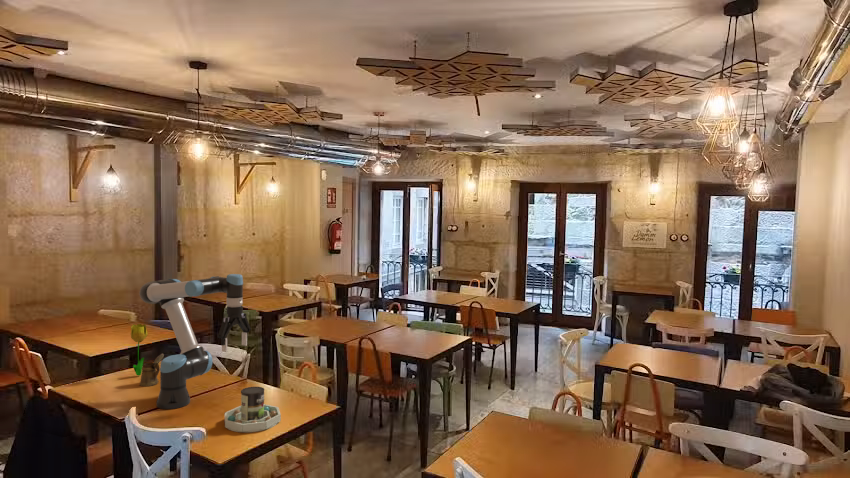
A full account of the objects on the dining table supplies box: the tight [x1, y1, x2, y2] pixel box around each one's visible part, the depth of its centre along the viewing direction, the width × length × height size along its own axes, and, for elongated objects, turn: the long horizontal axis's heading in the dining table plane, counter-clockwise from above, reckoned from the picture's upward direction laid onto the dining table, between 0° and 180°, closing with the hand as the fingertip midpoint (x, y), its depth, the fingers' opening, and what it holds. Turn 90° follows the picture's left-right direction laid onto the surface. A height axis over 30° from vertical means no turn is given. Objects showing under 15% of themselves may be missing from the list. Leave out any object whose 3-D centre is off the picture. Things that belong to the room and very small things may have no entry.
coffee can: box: [240, 386, 265, 421], centre depth 251 cm, size 10×10×14 cm
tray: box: [224, 403, 282, 433], centre depth 252 cm, size 24×24×4 cm
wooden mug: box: [139, 352, 165, 387], centre depth 300 cm, size 9×14×18 cm, turn 75°
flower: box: [130, 323, 149, 377], centre depth 312 cm, size 9×8×30 cm
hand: (234, 348), depth 270 cm, fingers open, 13 cm apart
